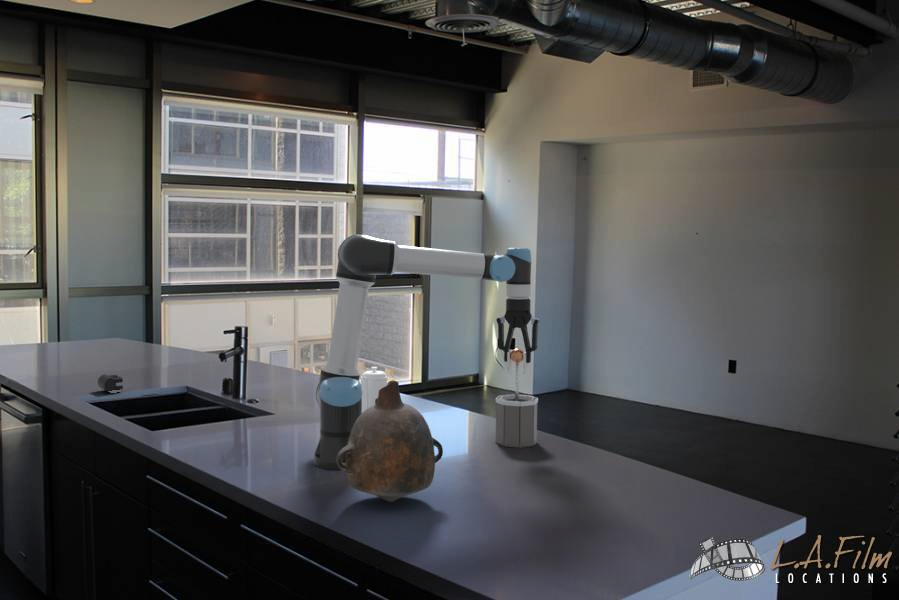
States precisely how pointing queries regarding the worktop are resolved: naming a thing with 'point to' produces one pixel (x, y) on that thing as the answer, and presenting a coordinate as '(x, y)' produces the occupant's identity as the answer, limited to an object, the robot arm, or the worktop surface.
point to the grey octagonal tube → (516, 420)
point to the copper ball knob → (517, 368)
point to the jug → (390, 449)
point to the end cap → (110, 382)
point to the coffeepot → (372, 386)
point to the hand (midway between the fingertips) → (517, 372)
